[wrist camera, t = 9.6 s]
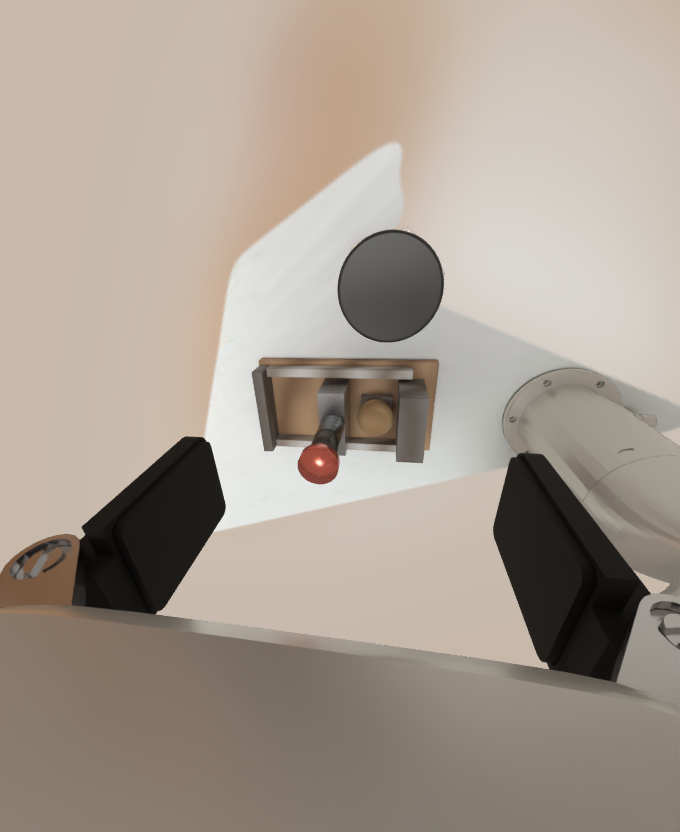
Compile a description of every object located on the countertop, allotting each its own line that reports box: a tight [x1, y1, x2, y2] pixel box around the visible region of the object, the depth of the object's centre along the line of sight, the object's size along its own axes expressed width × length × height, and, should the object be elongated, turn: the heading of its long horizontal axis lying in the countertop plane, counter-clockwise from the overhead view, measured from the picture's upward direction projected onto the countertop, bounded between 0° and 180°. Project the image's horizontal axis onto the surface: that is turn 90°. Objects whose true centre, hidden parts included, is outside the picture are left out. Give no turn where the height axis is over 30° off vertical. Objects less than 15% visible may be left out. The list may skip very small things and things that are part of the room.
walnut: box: [357, 399, 394, 436], centre depth 38 cm, size 4×4×4 cm
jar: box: [338, 228, 444, 342], centre depth 30 cm, size 9×8×12 cm
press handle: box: [298, 378, 350, 484], centre depth 35 cm, size 4×8×13 cm, turn 2°
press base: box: [252, 358, 439, 463], centre depth 39 cm, size 22×12×7 cm, turn 92°
